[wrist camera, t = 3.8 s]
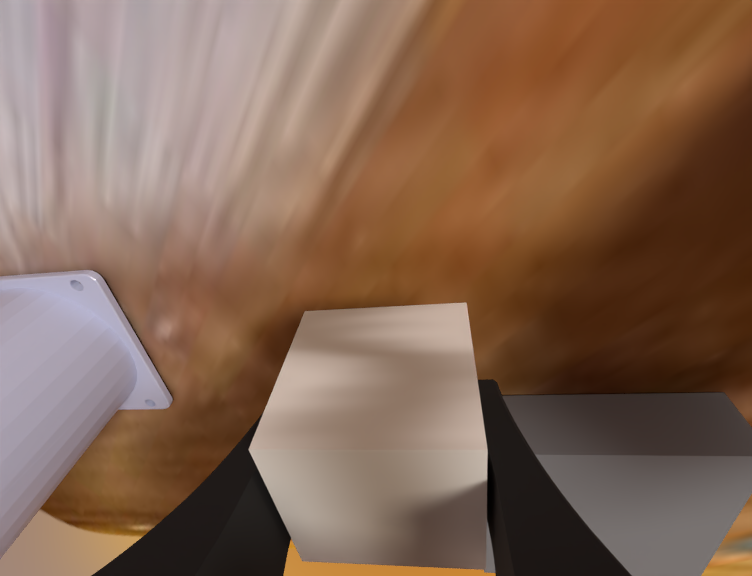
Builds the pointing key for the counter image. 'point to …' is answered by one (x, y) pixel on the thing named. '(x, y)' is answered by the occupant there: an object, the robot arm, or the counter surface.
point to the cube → (379, 439)
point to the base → (644, 471)
